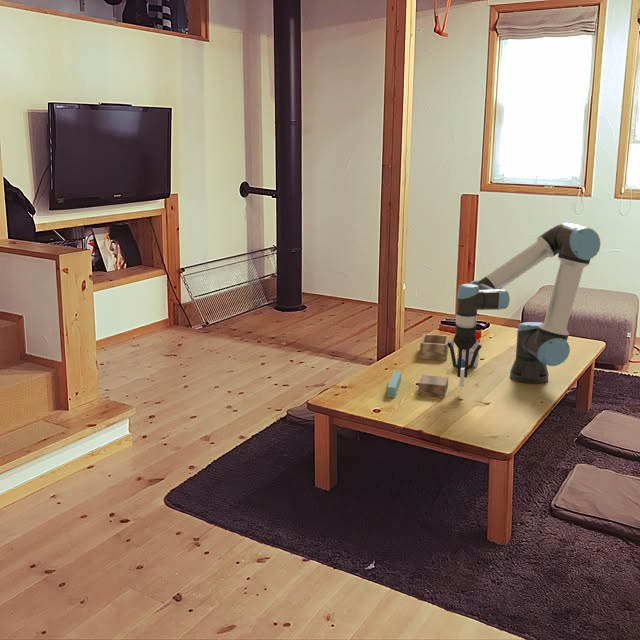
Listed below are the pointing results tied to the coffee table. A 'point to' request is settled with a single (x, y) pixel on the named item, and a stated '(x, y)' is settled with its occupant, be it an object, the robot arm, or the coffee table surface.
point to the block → (433, 386)
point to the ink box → (470, 352)
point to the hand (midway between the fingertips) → (461, 385)
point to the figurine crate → (434, 347)
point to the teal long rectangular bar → (394, 384)
